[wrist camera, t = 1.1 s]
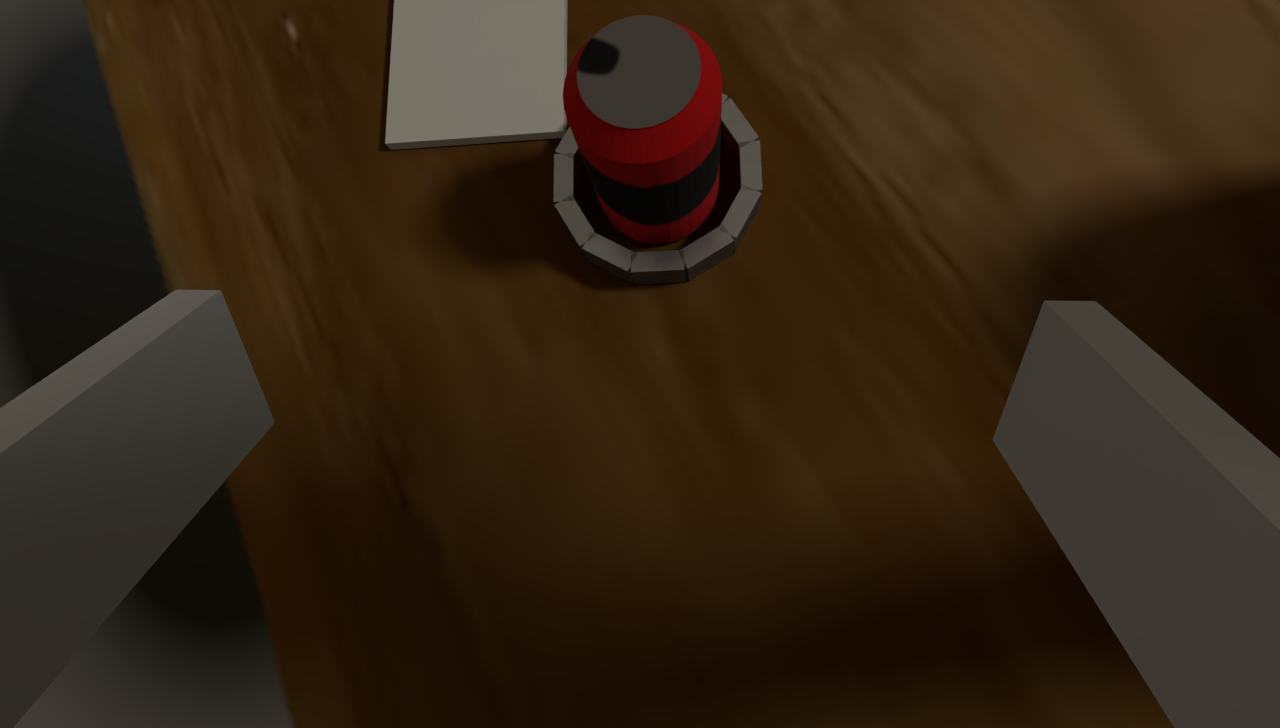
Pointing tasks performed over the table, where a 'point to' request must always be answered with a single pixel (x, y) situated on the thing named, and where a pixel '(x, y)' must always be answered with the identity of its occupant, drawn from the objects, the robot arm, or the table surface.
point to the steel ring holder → (675, 262)
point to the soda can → (648, 125)
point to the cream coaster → (476, 72)
